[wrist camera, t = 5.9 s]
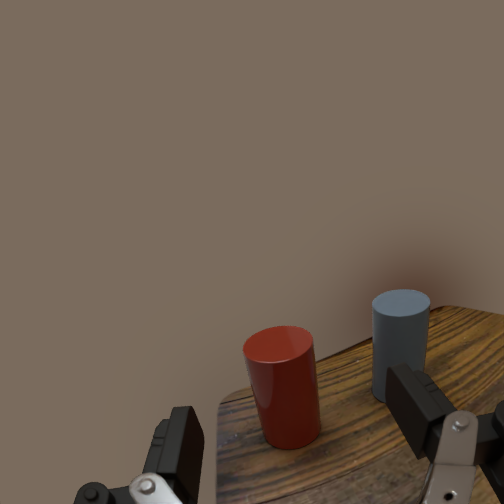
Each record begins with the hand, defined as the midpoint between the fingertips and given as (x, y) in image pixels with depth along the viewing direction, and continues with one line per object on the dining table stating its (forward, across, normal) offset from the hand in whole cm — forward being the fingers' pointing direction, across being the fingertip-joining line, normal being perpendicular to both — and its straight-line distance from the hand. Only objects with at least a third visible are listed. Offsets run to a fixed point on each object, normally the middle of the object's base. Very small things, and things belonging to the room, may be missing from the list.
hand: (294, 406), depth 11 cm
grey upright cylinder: (+13, +11, -13) cm, 22 cm away
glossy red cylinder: (+11, 0, -13) cm, 17 cm away
